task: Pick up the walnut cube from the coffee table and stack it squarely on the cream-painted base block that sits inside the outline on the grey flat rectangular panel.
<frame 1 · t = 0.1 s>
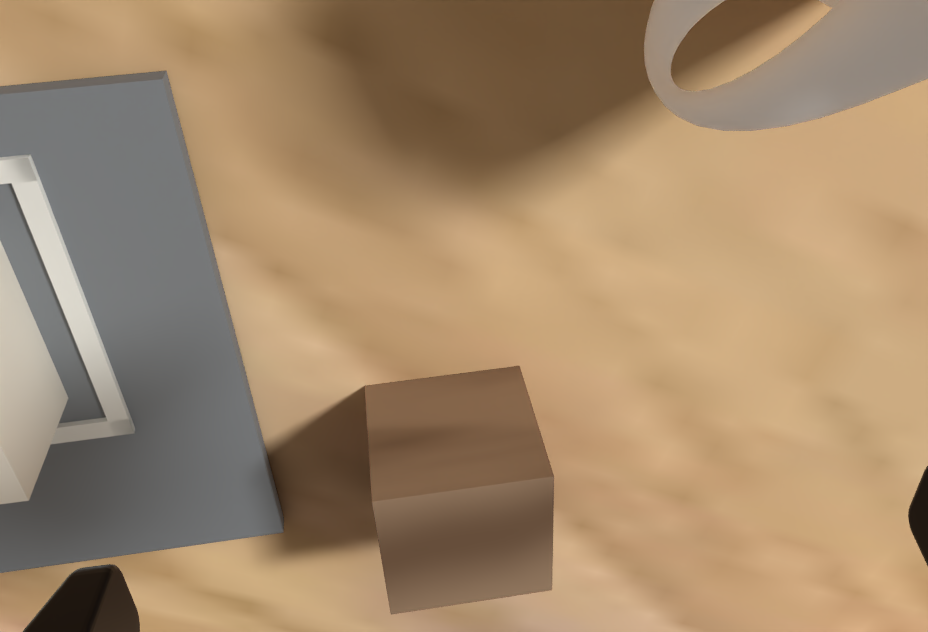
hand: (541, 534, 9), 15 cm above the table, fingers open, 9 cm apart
walnut cube: (447, 431, 28), on the table
grey flat rectangular panel: (26, 362, 24), on the table
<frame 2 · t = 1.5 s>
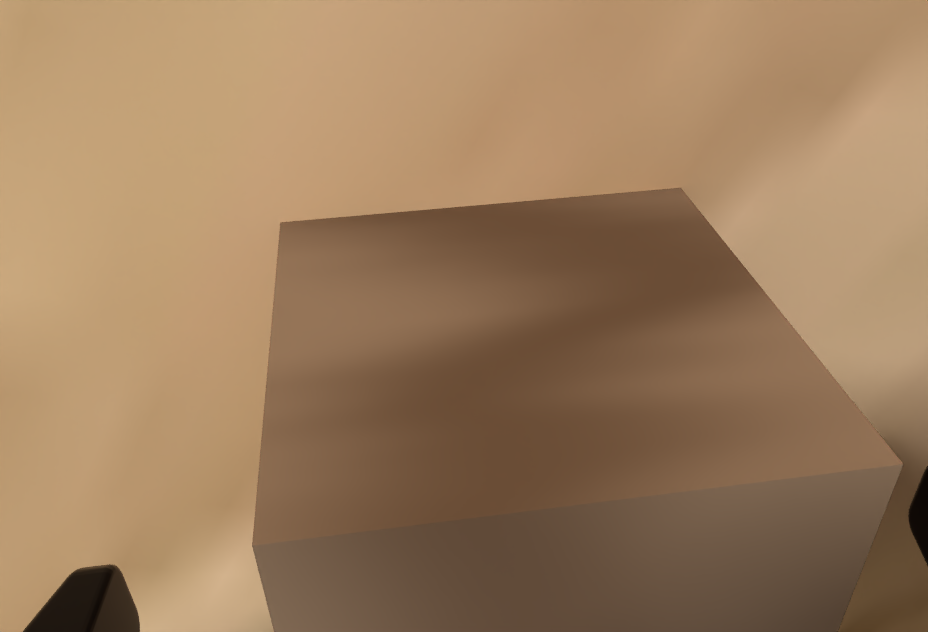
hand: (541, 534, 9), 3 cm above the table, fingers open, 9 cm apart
walnut cube: (486, 360, 12), on the table
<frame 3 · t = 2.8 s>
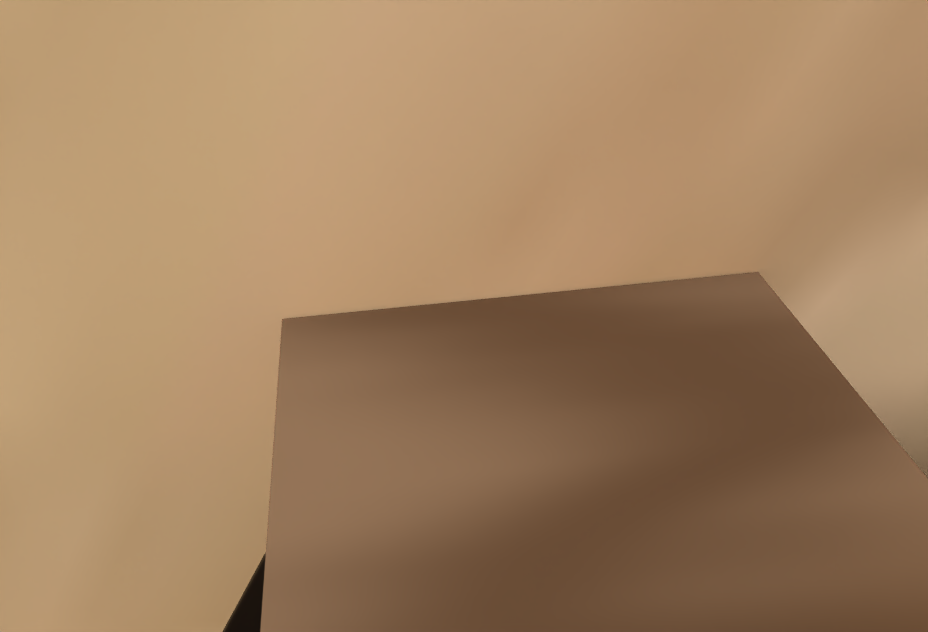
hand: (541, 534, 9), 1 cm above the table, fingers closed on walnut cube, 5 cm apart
walnut cube: (523, 467, 10), on the table, touching gripper
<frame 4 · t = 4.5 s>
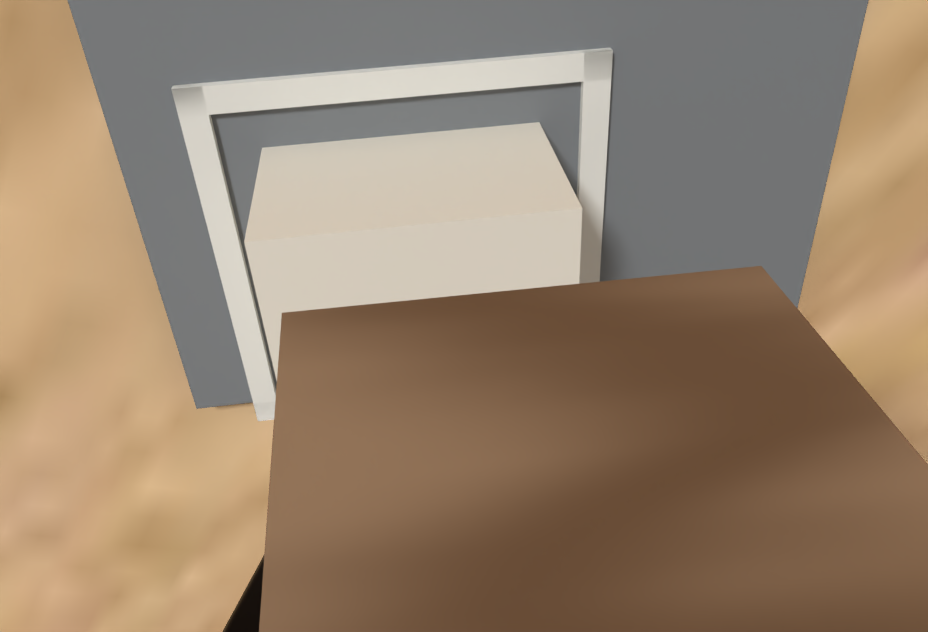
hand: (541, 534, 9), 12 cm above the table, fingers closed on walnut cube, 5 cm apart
walnut cube: (524, 463, 10), point 11 cm above the table, touching gripper
base block: (413, 253, 20), point 1 cm above the table, touching grey flat rectangular panel
grey flat rectangular panel: (491, 157, 19), on the table
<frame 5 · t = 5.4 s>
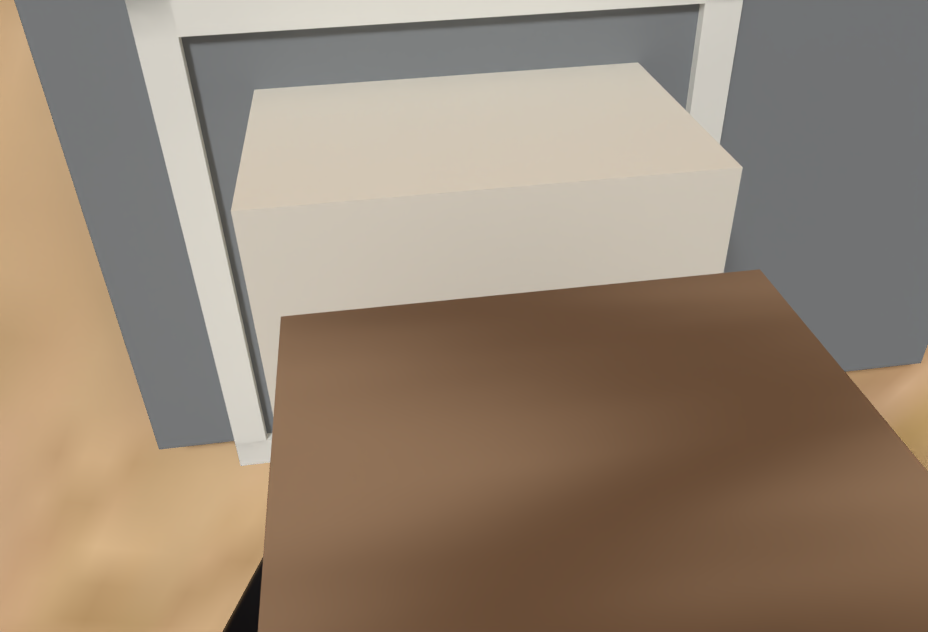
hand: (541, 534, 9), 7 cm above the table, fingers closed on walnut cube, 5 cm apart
walnut cube: (523, 466, 10), point 6 cm above the table, touching gripper
base block: (456, 244, 15), point 1 cm above the table, touching grey flat rectangular panel
grey flat rectangular panel: (564, 113, 14), on the table
when the fingers open (7 cm above the table, at t = 6.2 s): walnut cube drops 1 cm, resting on base block.
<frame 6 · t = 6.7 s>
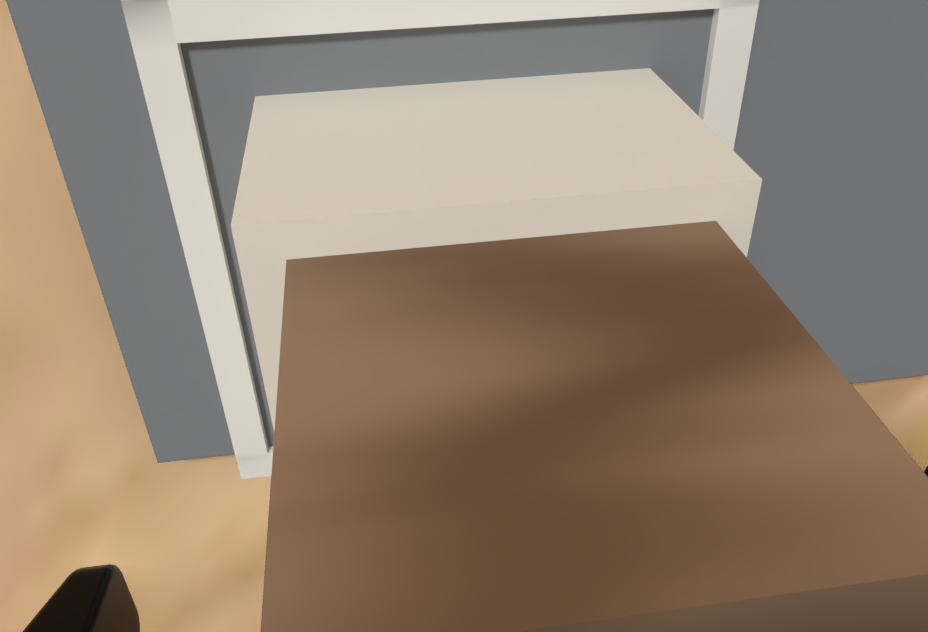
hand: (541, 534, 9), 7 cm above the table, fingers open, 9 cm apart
walnut cube: (505, 404, 11), point 5 cm above the table, touching base block
base block: (462, 253, 14), point 1 cm above the table, touching grey flat rectangular panel, walnut cube
grey flat rectangular panel: (573, 121, 14), on the table
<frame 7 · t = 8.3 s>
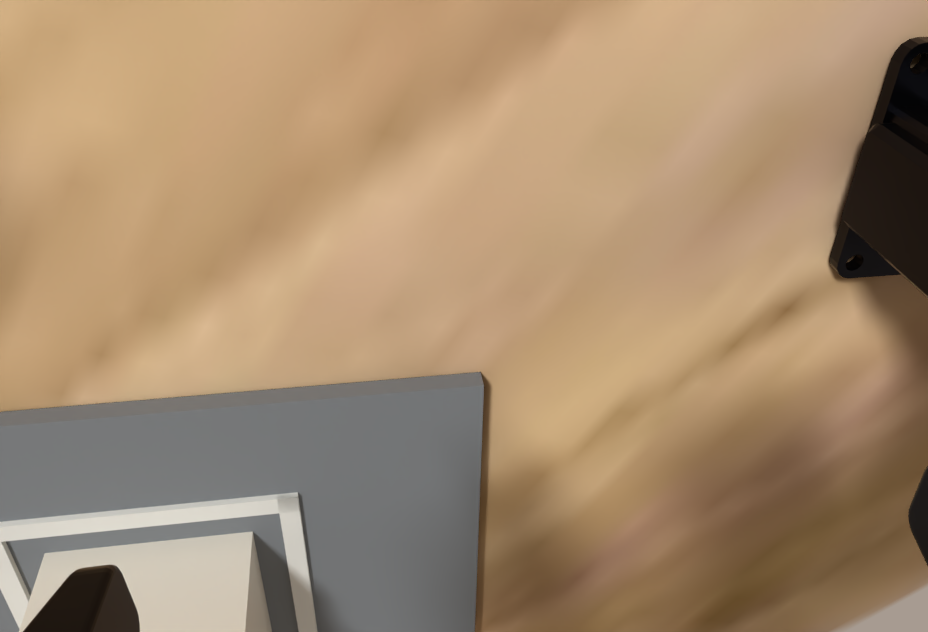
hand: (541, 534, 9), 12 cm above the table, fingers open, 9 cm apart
base block: (169, 604, 26), point 1 cm above the table, touching grey flat rectangular panel, walnut cube
grey flat rectangular panel: (225, 541, 26), on the table
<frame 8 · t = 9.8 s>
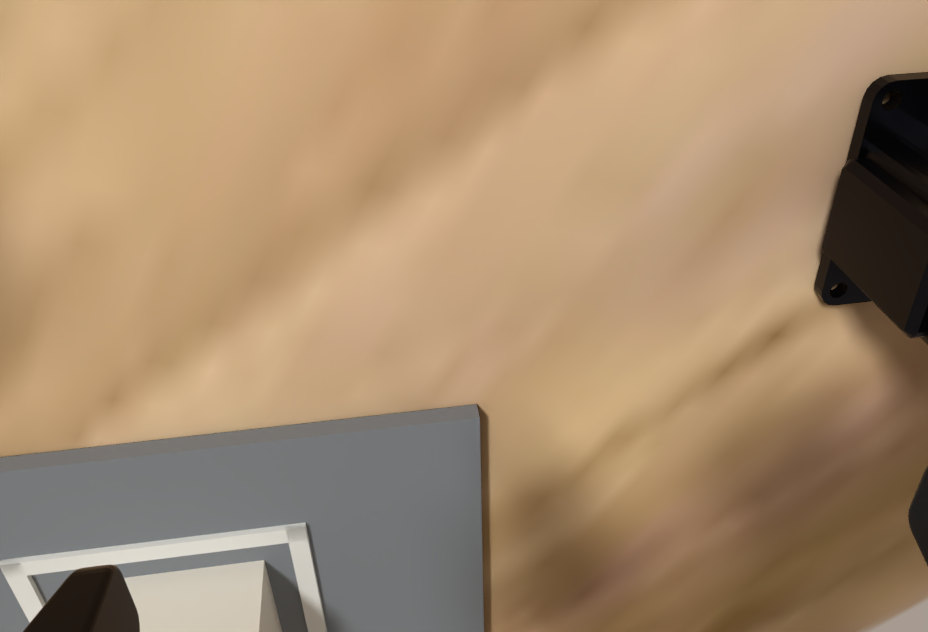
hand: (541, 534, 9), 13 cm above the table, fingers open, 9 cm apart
base block: (187, 629, 28), point 1 cm above the table, touching grey flat rectangular panel, walnut cube
grey flat rectangular panel: (239, 569, 27), on the table
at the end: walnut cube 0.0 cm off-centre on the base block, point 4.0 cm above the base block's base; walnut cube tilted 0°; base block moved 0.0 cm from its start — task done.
